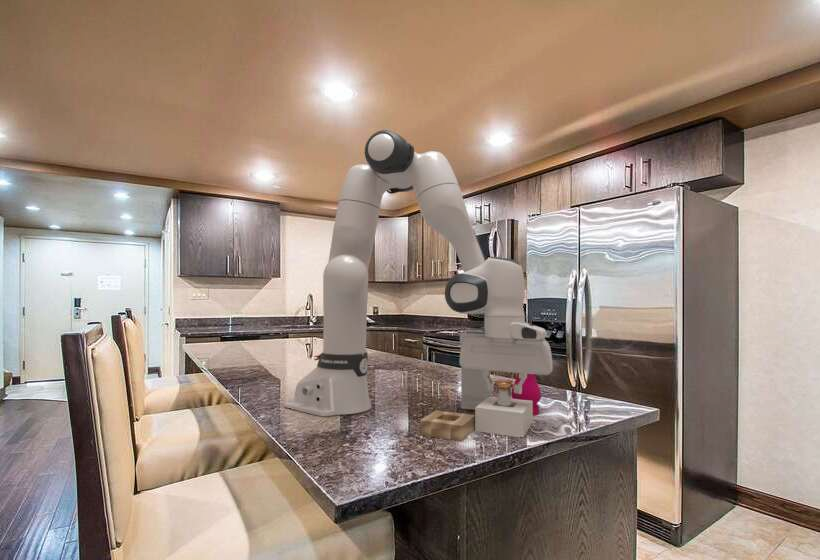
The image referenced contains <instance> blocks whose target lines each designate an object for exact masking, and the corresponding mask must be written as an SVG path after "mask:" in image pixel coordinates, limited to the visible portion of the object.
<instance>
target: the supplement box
mask: <svg viewBox="0 0 820 560" xmlns="http://www.w3.org/2000/svg"><path fill="white" fill-rule="evenodd" d="M489 376H490V377H491V374H490V375H489ZM460 386H461V389H460V391H461V393H460V394H461V395H460V396H461V397H460V399H461V403H460V405H461V406H460V409H461V410H471V411H473V410H474V411H475V407H477V406H478V405H479V404H480V403H482V402H483V401H484V400H486V399H487V398H488V397H489V396H491V391H488V383H487V382H486V380H485V379H484V377H483V370H473V369H463V368H462V367H461V385H460Z"/></svg>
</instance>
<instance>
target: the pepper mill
mask: <svg viewBox="0 0 820 560" xmlns="http://www.w3.org/2000/svg"><path fill="white" fill-rule="evenodd" d="M516 374H517V375H516V377H515V380H514V383H513V387H511V399H520V400H530V401H533V416H537V415H539V414H540V405H538V403H539V402H540V400H541V398H542V393H541V389H540V386H539V384H538V381H537V378H536V376H535V375H536V374H527V378H526V380H525V381H524V383H523V385H522V393H521V394H514V385H515V384H519V382H520V380H521V379H522V378H519V373H516Z"/></svg>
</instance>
